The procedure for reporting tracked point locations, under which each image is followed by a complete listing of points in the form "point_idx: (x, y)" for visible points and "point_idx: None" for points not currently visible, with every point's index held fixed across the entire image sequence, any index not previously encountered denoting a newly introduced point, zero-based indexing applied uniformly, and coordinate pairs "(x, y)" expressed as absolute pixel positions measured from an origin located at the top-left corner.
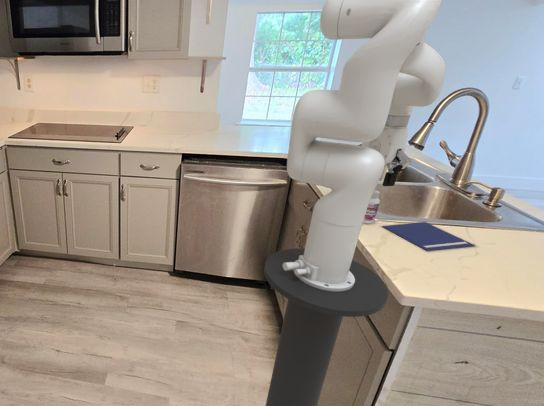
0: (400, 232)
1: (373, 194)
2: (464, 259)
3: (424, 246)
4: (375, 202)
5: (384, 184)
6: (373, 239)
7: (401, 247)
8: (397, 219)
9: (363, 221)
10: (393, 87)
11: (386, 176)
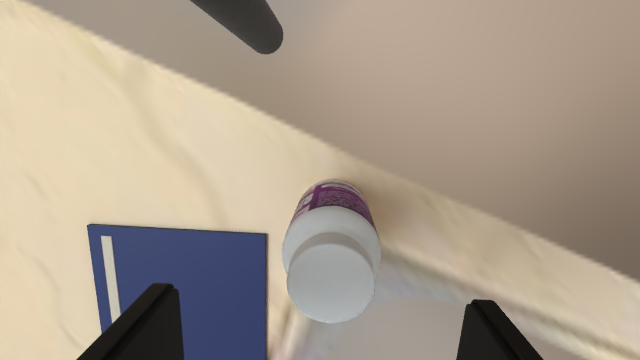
0: (209, 250)
1: (291, 261)
2: (40, 279)
3: (106, 236)
4: (283, 250)
5: (148, 289)
6: (182, 121)
7: (119, 167)
8: (309, 330)
9: (306, 191)
10: None
11: (91, 349)
